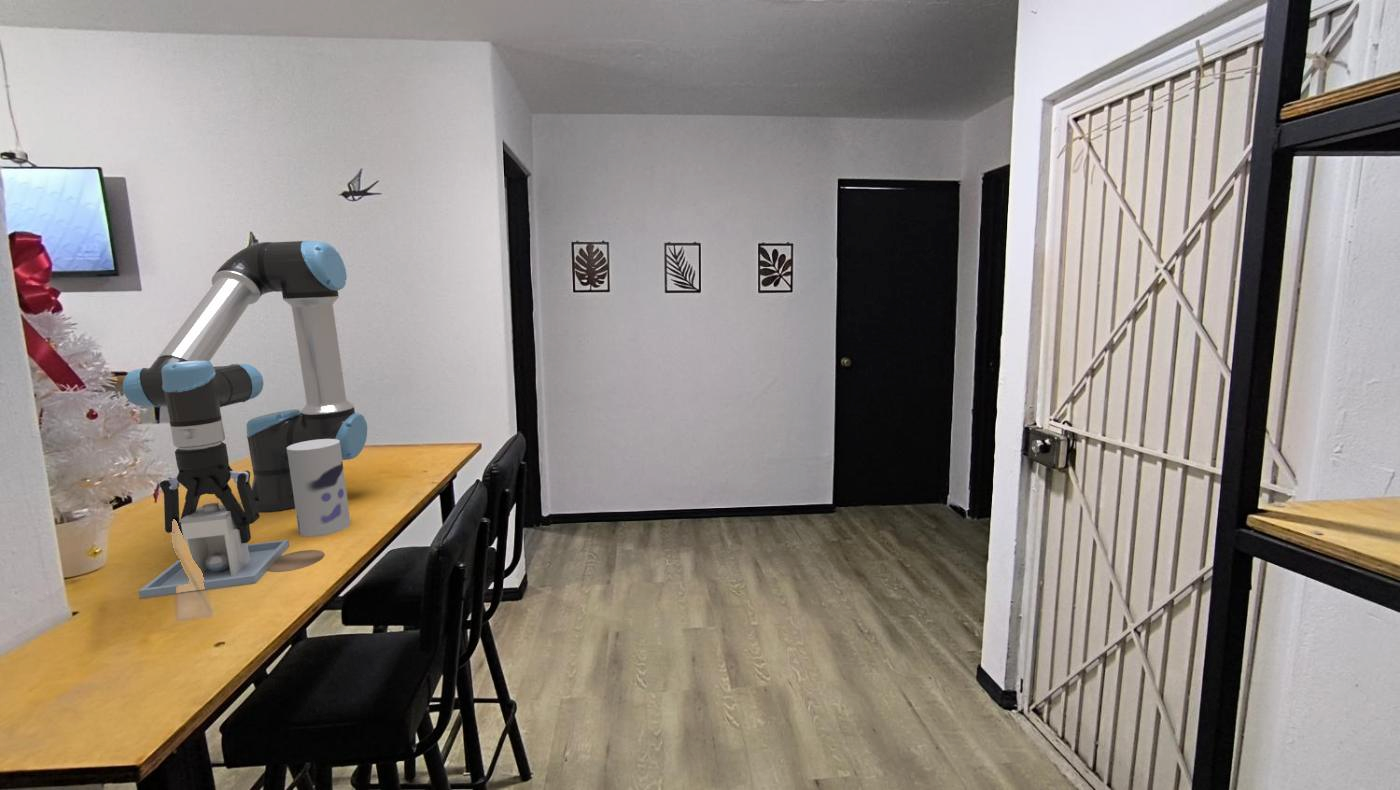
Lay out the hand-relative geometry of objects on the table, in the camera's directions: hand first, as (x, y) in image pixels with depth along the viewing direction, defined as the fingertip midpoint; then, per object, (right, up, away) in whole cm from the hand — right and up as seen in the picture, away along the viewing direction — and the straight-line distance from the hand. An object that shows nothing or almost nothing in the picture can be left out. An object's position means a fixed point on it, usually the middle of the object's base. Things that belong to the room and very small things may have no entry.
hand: (220, 561), depth 120 cm
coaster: (+12, -1, +4) cm, 13 cm away
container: (+8, +1, +21) cm, 22 cm away
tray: (0, -2, 0) cm, 2 cm away
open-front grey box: (0, -2, 0) cm, 2 cm away
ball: (0, -2, 0) cm, 2 cm away
